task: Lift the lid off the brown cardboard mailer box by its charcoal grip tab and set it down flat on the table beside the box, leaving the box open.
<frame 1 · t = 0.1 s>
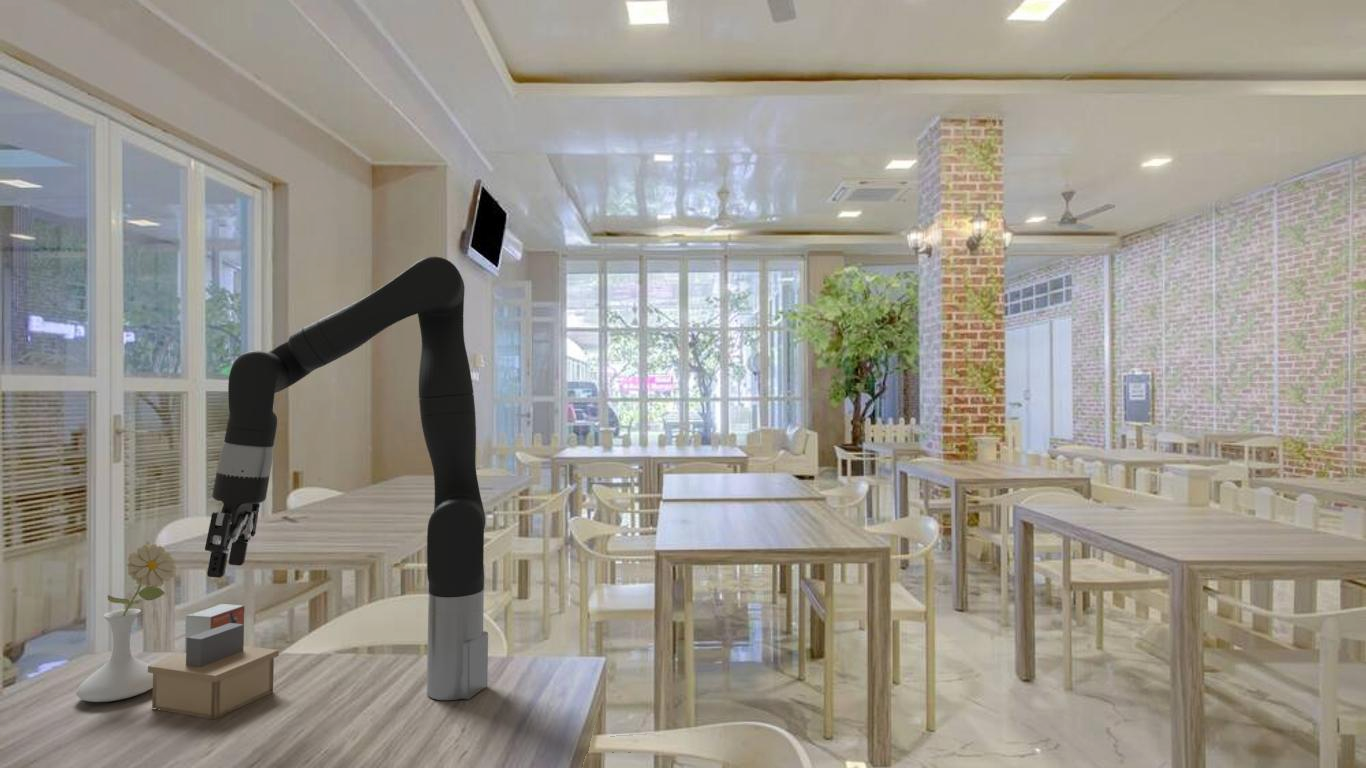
hand: (226, 570, 115), 22 cm above the table, tool pointing down, fingers open, 8 cm apart
mailer lid: (215, 663, 118), point 6 cm above the table, touching mailer box
mailer box: (214, 700, 118), on the table
small box: (214, 667, 133), on the table
flower in vase: (126, 694, 120), on the table
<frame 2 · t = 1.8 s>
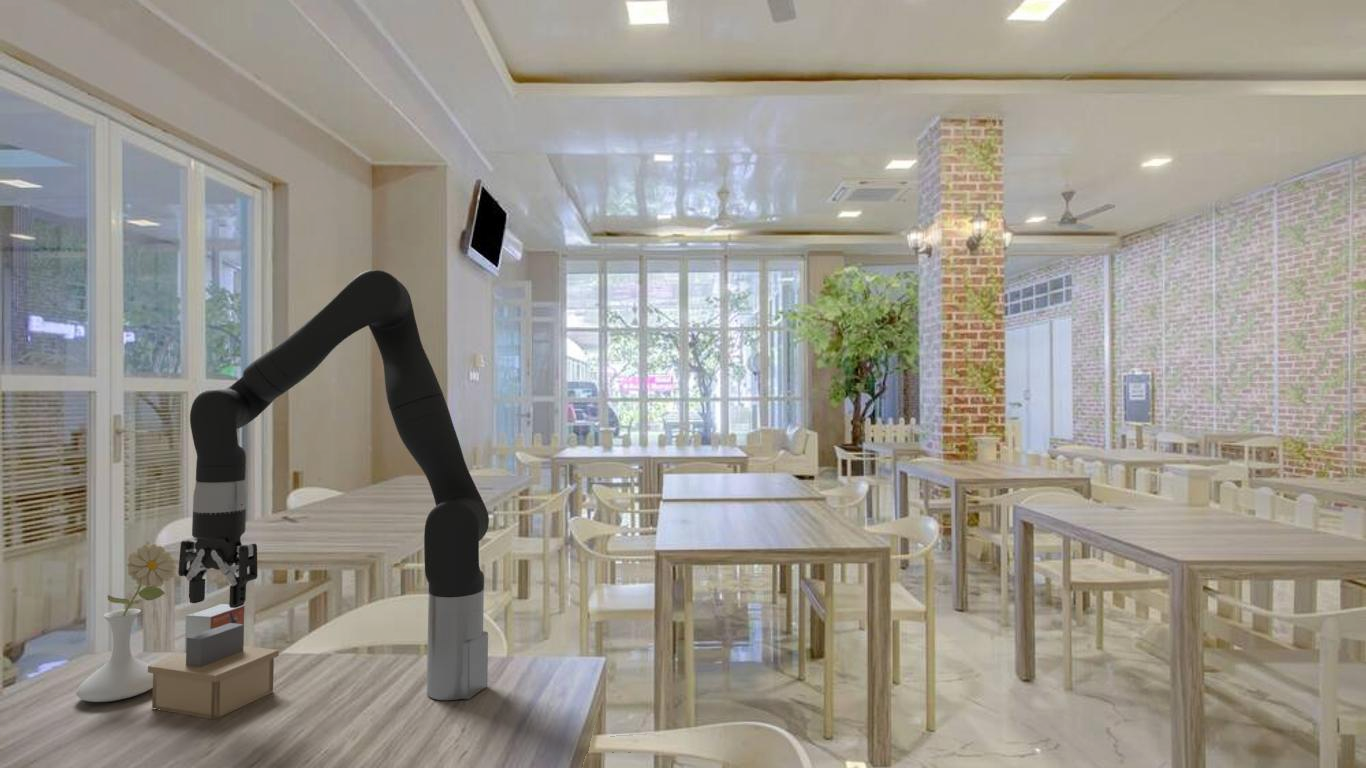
hand: (216, 604, 118), 16 cm above the table, tool pointing down, fingers open, 8 cm apart
nothing on the table moved.
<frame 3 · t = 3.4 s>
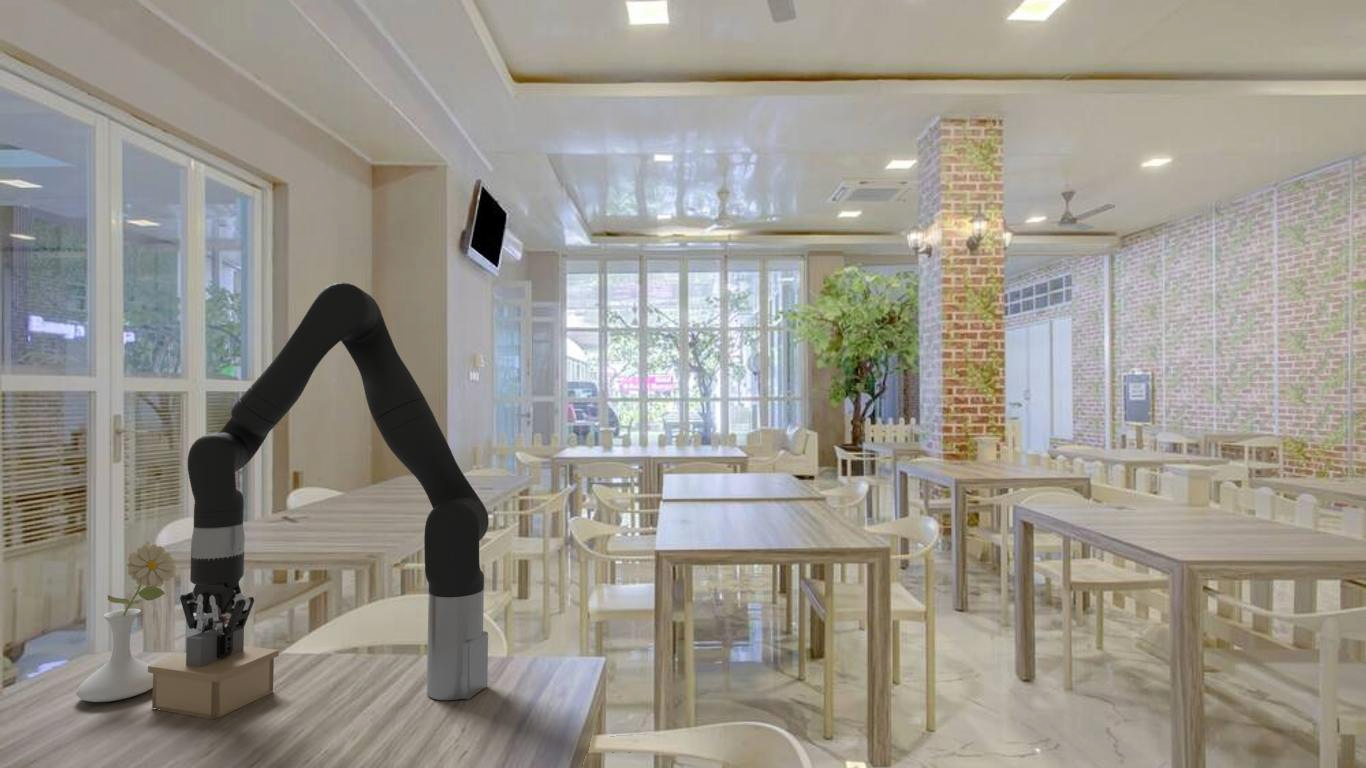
hand: (215, 655, 118), 7 cm above the table, tool pointing down, fingers closed on mailer lid, 3 cm apart
mailer lid: (215, 663, 118), point 6 cm above the table, touching gripper, mailer box
everything else where it was.
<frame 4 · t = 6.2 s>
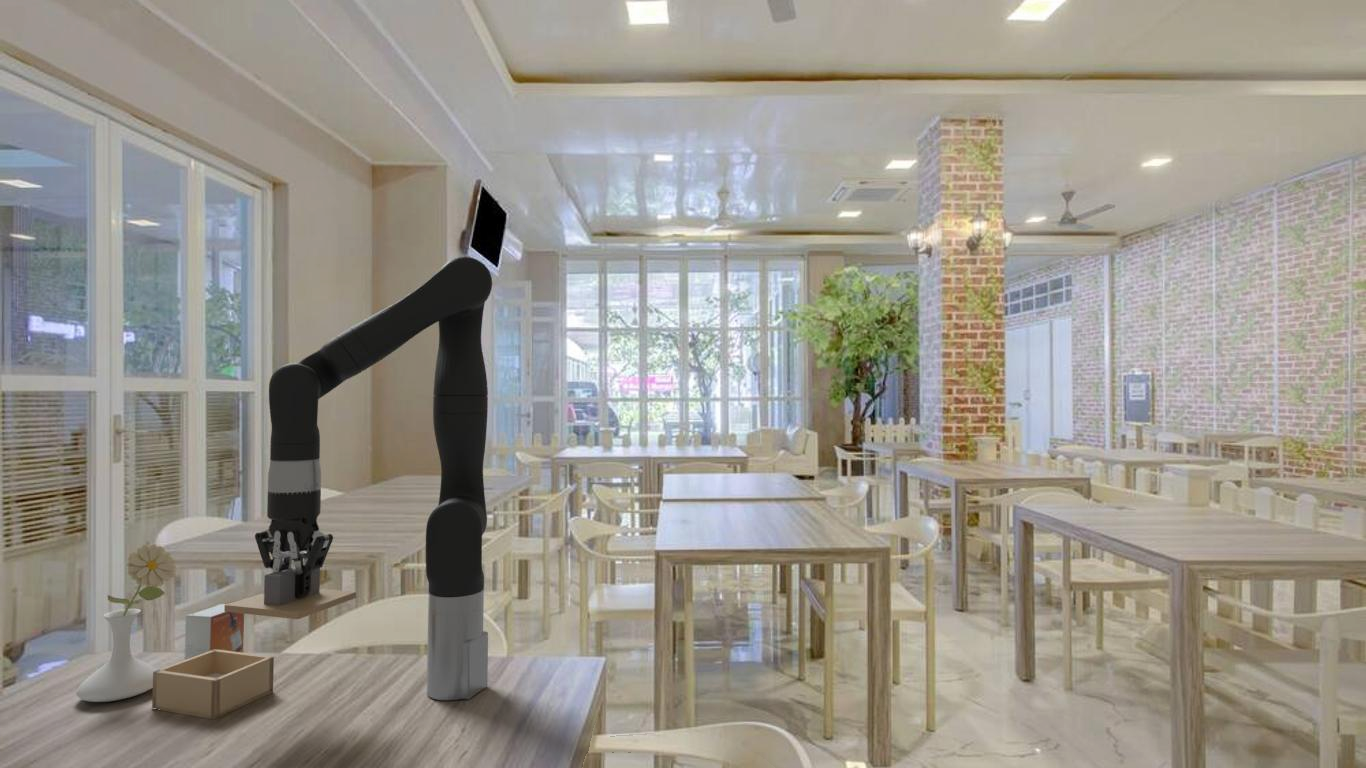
hand: (292, 595, 113), 19 cm above the table, tool pointing down, fingers closed on mailer lid, 3 cm apart
mailer lid: (292, 604, 113), point 18 cm above the table, touching gripper
everything else where it was.
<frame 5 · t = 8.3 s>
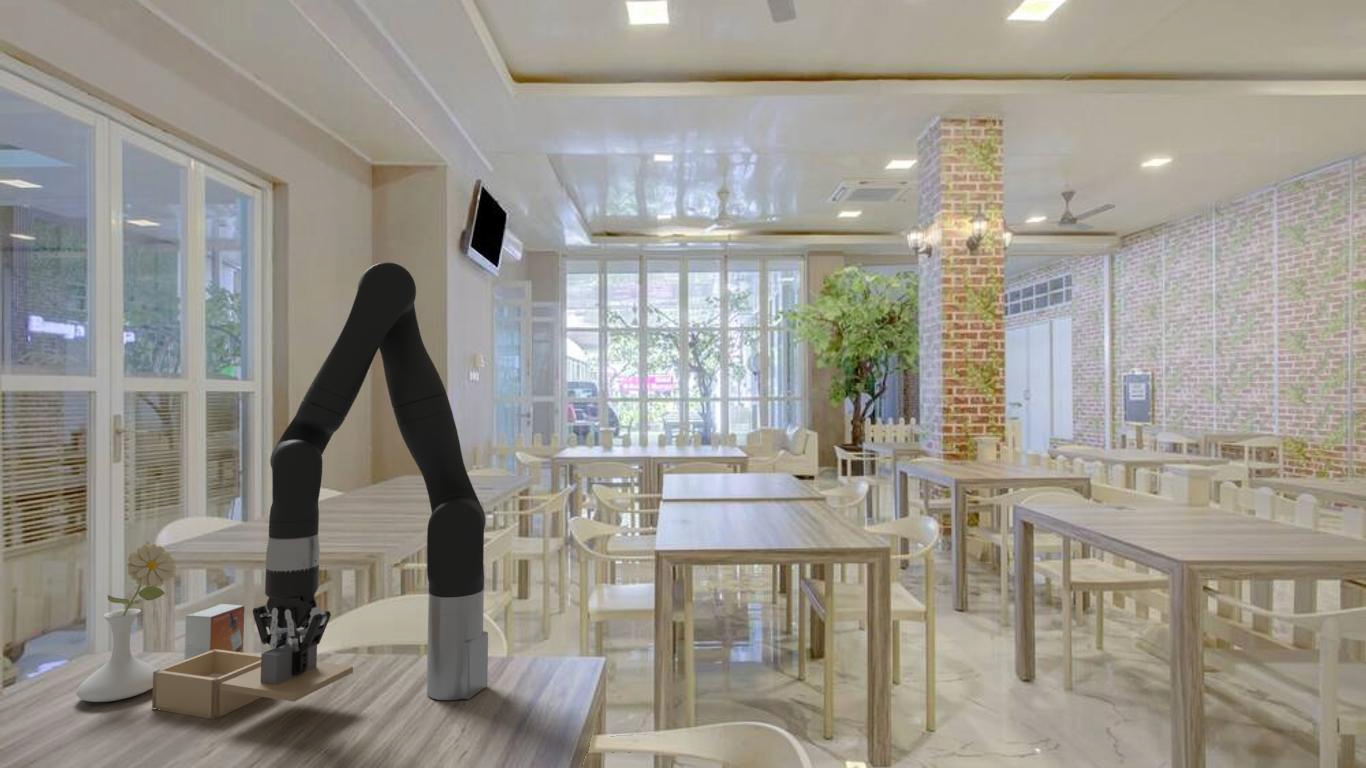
hand: (289, 671, 112), 7 cm above the table, tool pointing down, fingers closed on mailer lid, 3 cm apart
mailer lid: (289, 680, 112), point 5 cm above the table, touching gripper
everything else where it was.
when the fingers open (3 cm above the table, at t = 9.4 s): mailer lid drops 2 cm, on the table.
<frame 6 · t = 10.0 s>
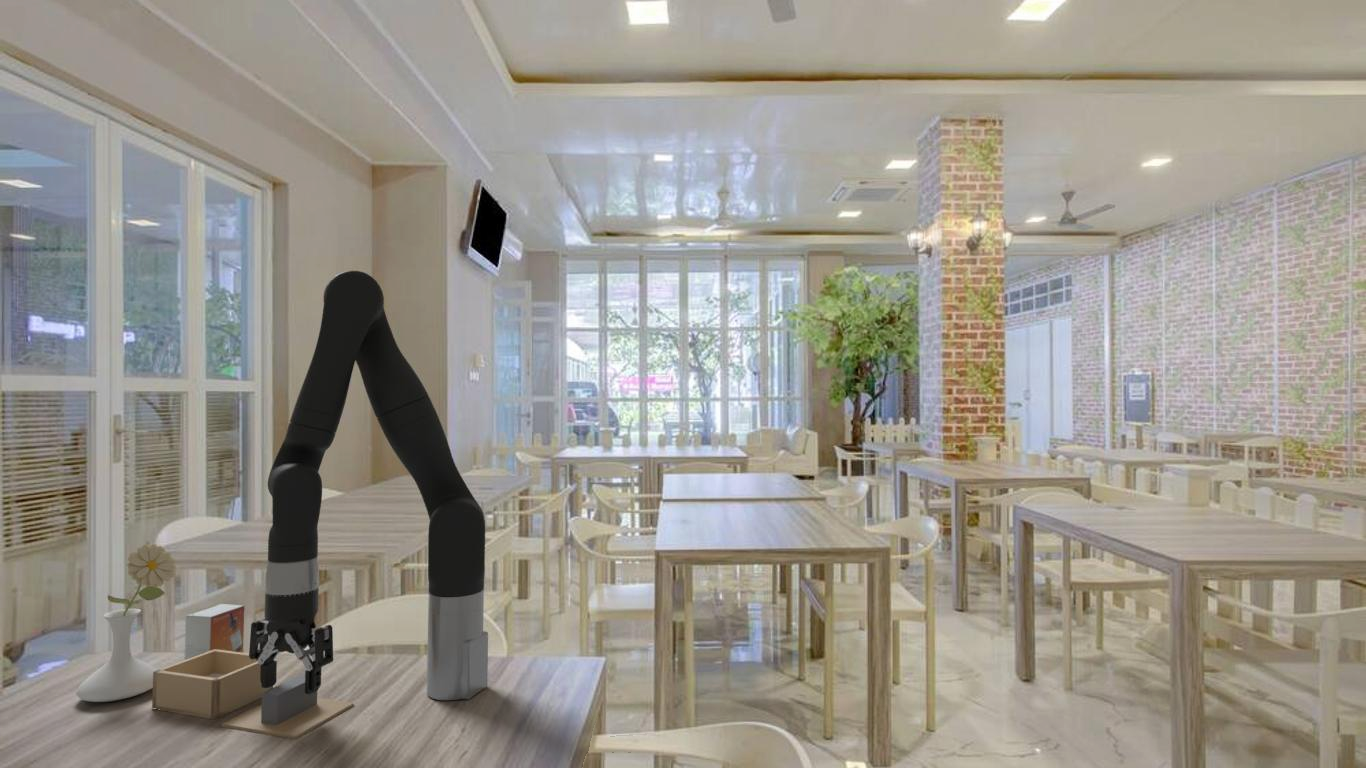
hand: (290, 689, 112), 4 cm above the table, tool pointing down, fingers open, 8 cm apart
mailer lid: (289, 719, 112), on the table
everything else where it was.
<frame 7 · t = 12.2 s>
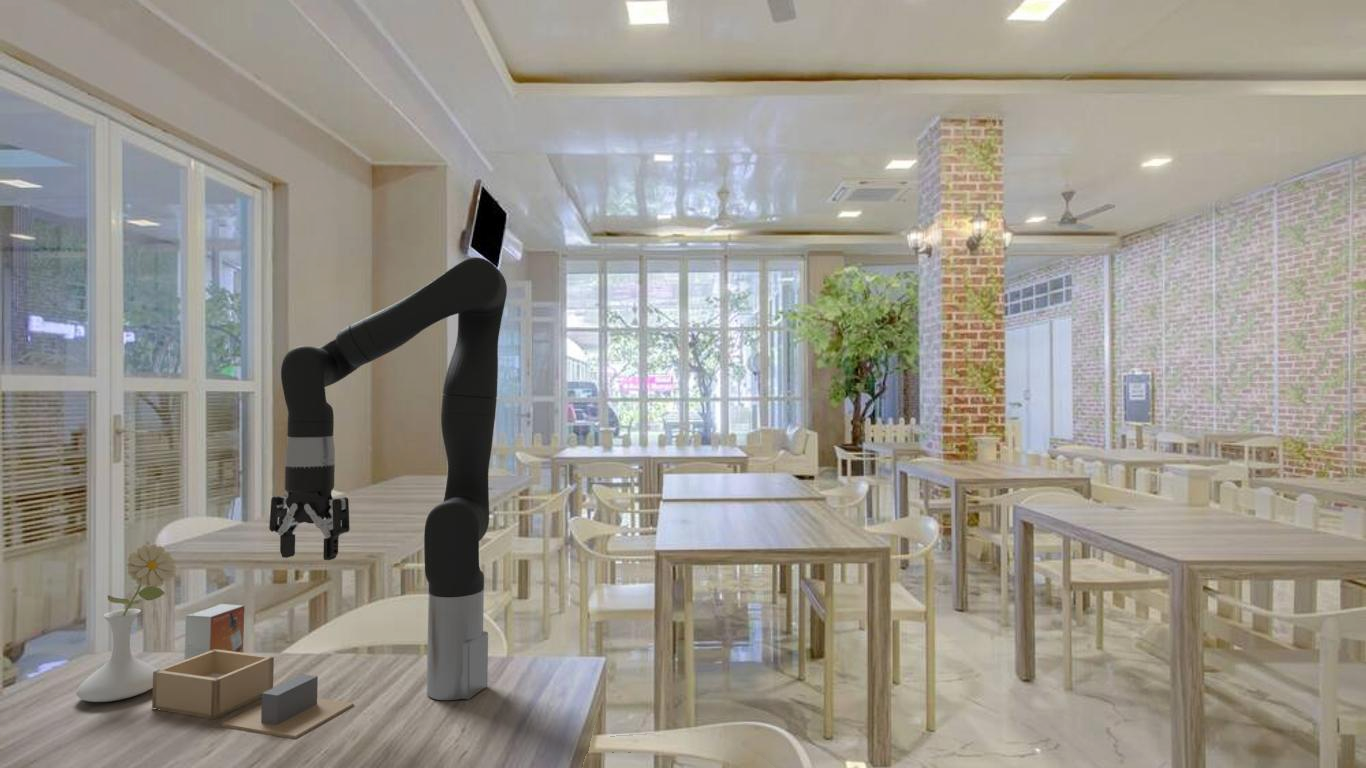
hand: (308, 558, 120), 23 cm above the table, tool pointing down, fingers open, 8 cm apart
nothing on the table moved.
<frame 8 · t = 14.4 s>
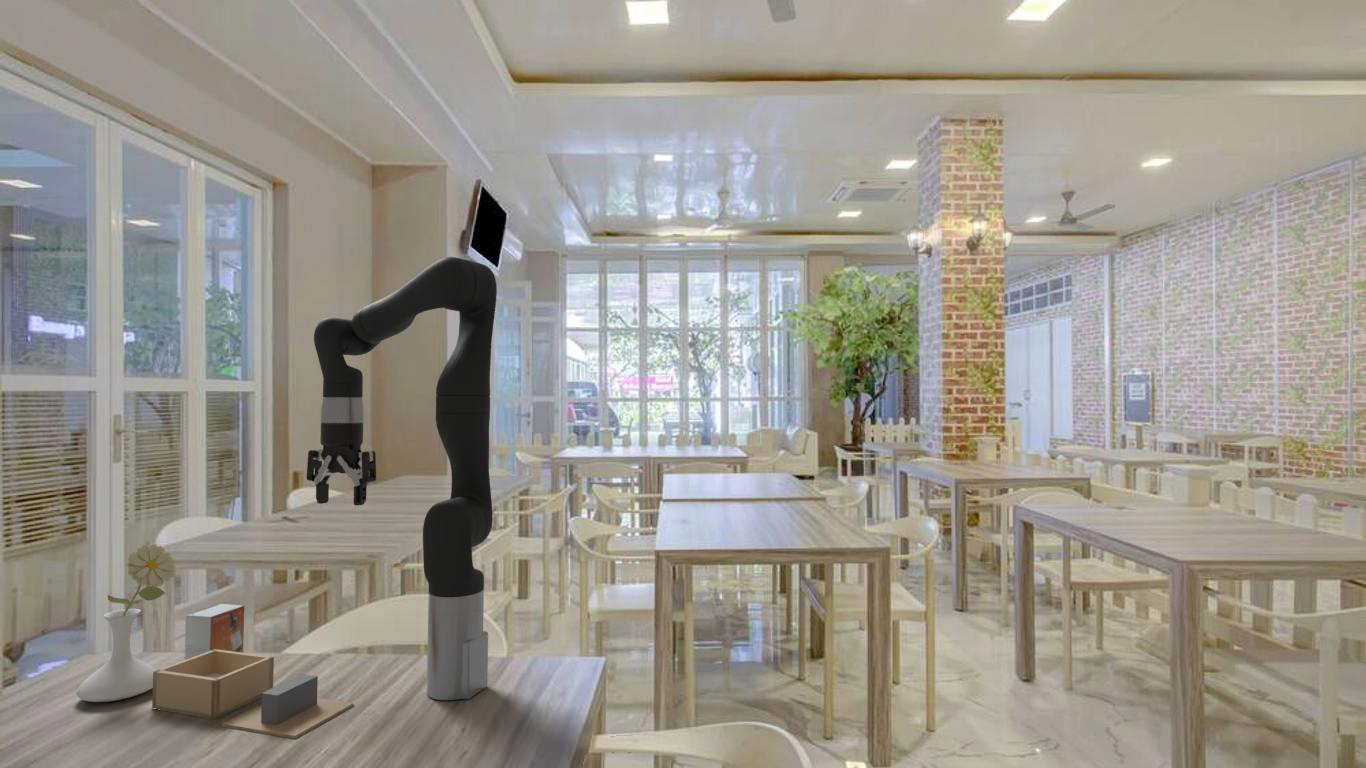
hand: (340, 504, 137), 30 cm above the table, tool pointing down, fingers open, 8 cm apart
nothing on the table moved.
at the end: mailer lid inside the target area (0.1 cm from its centre), on the table; mailer lid tilted 0°; the gripper is holding nothing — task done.
